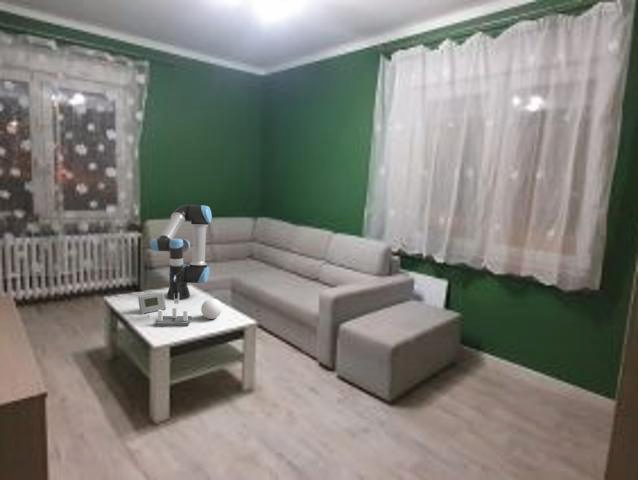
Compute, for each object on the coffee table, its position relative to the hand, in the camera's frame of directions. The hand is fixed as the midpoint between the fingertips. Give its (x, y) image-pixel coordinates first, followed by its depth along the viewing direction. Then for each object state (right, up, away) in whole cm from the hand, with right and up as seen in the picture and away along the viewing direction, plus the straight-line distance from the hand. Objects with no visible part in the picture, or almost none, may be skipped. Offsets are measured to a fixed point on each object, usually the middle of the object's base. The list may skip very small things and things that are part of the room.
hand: (176, 303), depth 250 cm
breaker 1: (-6, -8, -11) cm, 15 cm away
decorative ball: (+20, -10, +3) cm, 23 cm away
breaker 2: (+8, -9, -9) cm, 15 cm away
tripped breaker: (+1, -8, -5) cm, 9 cm away
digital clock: (-19, -7, +11) cm, 23 cm away
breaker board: (+1, -10, -7) cm, 12 cm away
